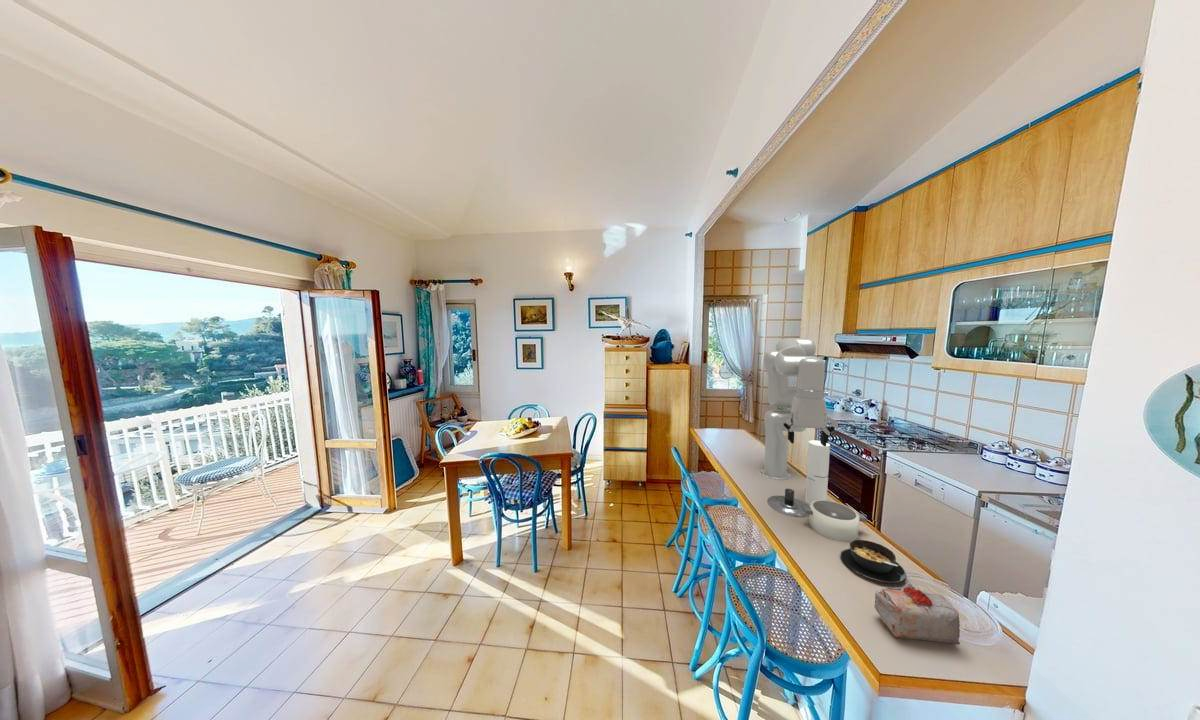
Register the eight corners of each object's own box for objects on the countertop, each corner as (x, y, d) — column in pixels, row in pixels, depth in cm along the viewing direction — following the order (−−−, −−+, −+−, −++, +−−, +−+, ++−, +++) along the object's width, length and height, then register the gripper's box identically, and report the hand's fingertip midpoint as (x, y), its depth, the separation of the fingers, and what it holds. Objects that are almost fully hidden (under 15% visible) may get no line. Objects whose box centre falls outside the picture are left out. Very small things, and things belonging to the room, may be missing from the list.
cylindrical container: (825, 510, 128) (829, 447, 126) (804, 504, 133) (807, 443, 130) (826, 502, 134) (830, 442, 132) (806, 497, 138) (809, 439, 136)
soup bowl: (897, 561, 100) (899, 538, 100) (914, 598, 86) (916, 571, 86) (837, 545, 108) (838, 523, 107) (843, 576, 94) (845, 552, 93)
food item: (893, 642, 74) (897, 601, 73) (870, 612, 82) (873, 574, 81) (963, 650, 72) (968, 608, 71) (932, 619, 80) (936, 581, 79)
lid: (764, 496, 140) (764, 479, 140) (804, 501, 136) (805, 484, 135) (771, 515, 126) (772, 497, 125) (817, 521, 121) (818, 503, 121)
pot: (797, 514, 125) (798, 496, 125) (854, 522, 120) (856, 503, 120) (809, 536, 112) (810, 516, 111) (874, 546, 107) (875, 525, 106)
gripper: (834, 393, 114) (832, 442, 115) (778, 391, 119) (776, 437, 120) (844, 398, 107) (840, 449, 108) (784, 395, 111) (781, 444, 113)
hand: (807, 443), depth 114 cm, fingers open, 9 cm apart
